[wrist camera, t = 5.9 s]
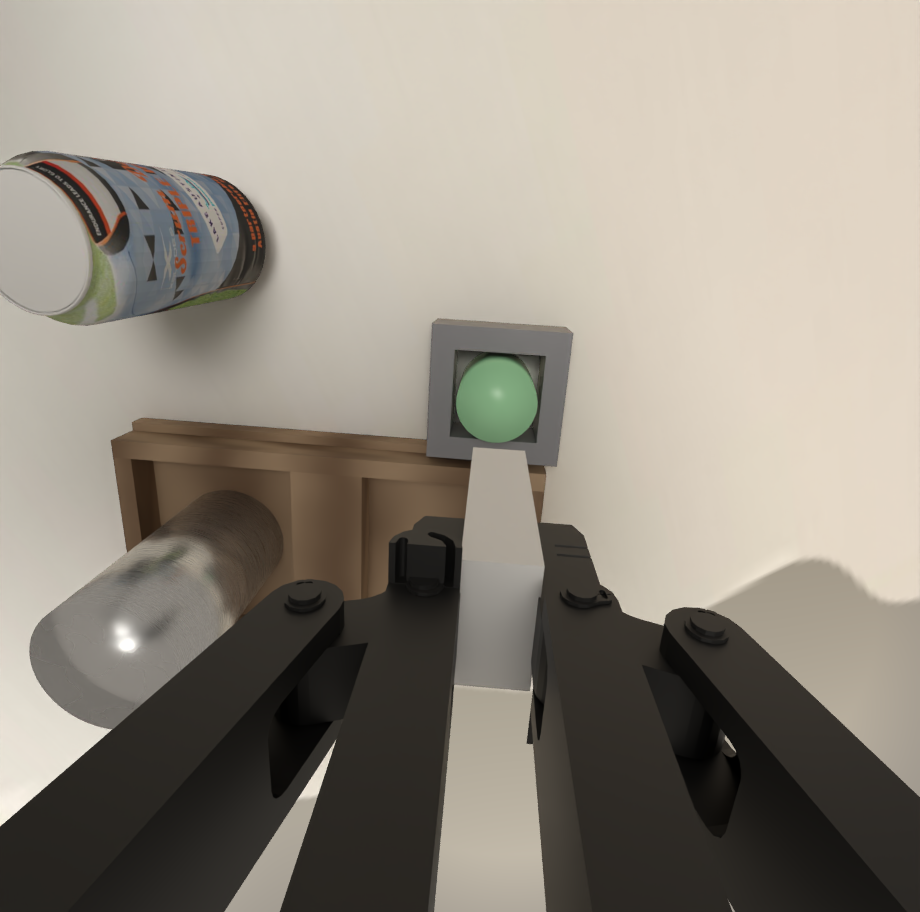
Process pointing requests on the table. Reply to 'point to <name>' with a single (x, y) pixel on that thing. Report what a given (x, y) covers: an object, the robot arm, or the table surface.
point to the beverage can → (120, 238)
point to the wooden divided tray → (297, 491)
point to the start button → (496, 397)
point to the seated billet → (156, 607)
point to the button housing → (499, 338)
